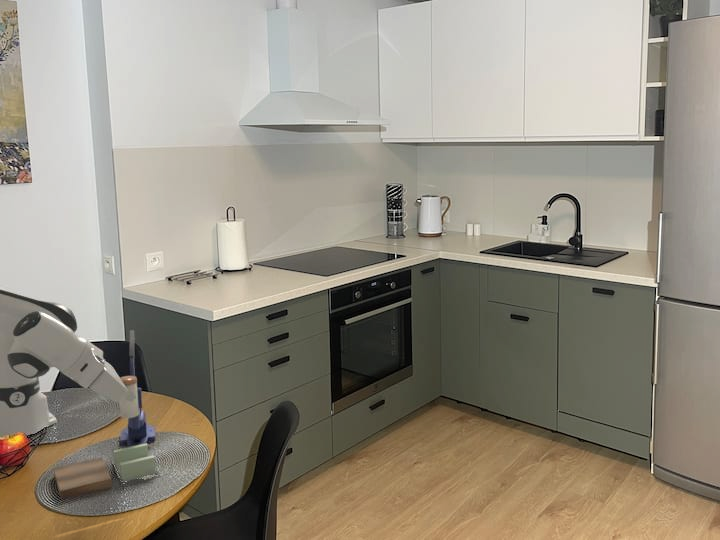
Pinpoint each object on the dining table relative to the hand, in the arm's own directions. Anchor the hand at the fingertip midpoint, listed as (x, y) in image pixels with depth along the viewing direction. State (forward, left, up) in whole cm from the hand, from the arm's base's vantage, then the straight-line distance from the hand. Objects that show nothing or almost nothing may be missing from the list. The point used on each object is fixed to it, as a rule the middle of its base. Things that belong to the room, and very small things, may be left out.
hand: (131, 394), depth 163 cm
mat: (0, 0, -20) cm, 20 cm away
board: (0, -12, -20) cm, 23 cm away
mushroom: (0, -1, -5) cm, 5 cm away
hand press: (-17, +4, -20) cm, 27 cm away
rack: (0, 0, -19) cm, 19 cm away
